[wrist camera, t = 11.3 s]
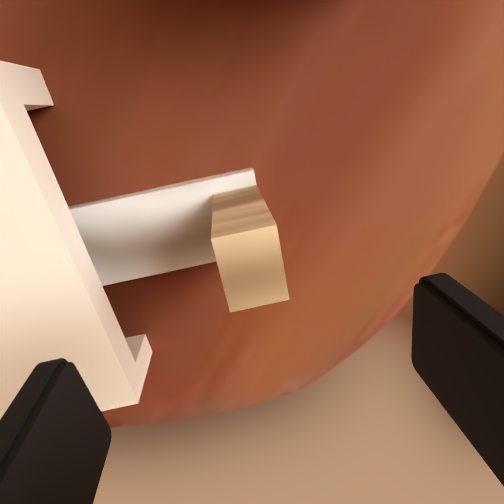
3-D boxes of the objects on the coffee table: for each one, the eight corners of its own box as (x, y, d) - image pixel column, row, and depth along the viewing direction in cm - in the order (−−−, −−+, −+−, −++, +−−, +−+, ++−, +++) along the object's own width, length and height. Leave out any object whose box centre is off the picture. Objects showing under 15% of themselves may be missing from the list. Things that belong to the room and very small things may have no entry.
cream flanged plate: (-125, 103, 20) (-242, 101, 15) (39, 69, 20) (-22, 55, 15) (39, 375, 29) (1, 432, 24) (152, 352, 29) (138, 403, 24)
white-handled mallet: (3, 220, 23) (-136, 291, 14) (251, 167, 23) (272, 203, 14) (41, 291, 26) (-57, 391, 17) (266, 243, 26) (292, 315, 17)
